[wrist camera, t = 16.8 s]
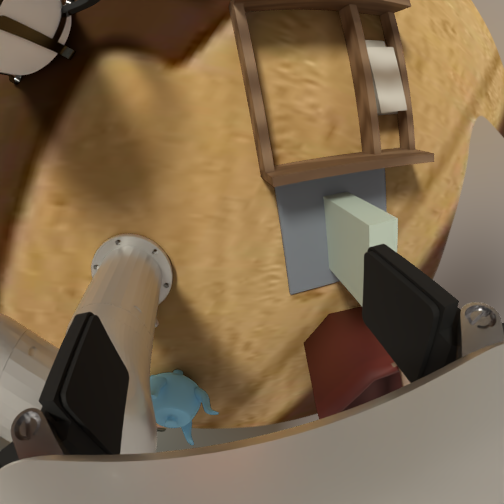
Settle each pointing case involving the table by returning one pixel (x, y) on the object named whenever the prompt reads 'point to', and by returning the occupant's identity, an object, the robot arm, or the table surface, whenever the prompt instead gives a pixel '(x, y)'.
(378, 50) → the offcut upper
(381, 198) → the mat
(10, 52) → the coffee press
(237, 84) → the table surface
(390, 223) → the pale green block
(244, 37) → the rack
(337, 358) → the bucket
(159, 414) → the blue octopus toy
